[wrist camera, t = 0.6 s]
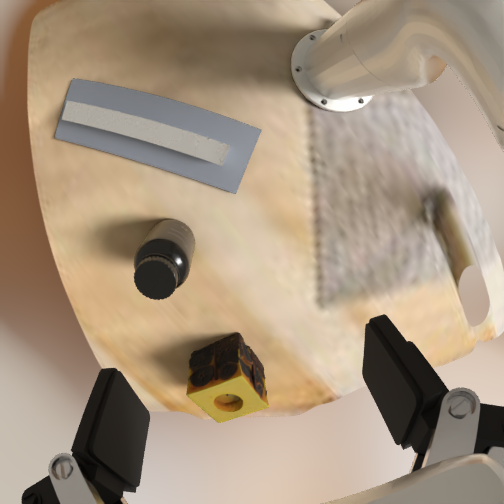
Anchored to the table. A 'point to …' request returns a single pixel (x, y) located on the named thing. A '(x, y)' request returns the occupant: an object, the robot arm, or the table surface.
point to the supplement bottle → (164, 259)
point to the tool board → (169, 113)
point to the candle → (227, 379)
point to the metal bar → (147, 131)
